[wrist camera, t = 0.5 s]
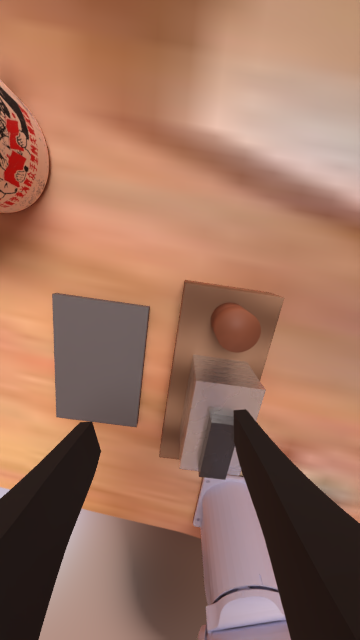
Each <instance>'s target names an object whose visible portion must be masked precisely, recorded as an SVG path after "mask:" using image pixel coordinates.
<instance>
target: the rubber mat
mask: <svg viewBox="0 0 360 640" xmlns="http://www.w3.org/2000/svg"><path fill="white" fill-rule="evenodd" d="M52 298H53V328H54V358H55V387H56V417H59V418H67V419H75V420H83V421H91V422H99V423H107V424H115V425H123V426H131V427H137V423H138V414H139V404H140V395H141V385H142V376H143V366H144V357H145V347H146V338H147V328H148V319H149V309H150V306H143V305H136V304H129V303H122V302H115V301H108V300H101V299H94V298H87V297H80V296H73V295H66V294H59V293H55V294H52Z"/></svg>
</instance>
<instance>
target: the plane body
mask: <svg viewBox="0 0 360 640" xmlns="http://www.w3.org/2000/svg"><path fill="white" fill-rule="evenodd" d="M283 301H284V297H281V296H278V295H275V294H272V293H269V292H262V291H256V290H249V289H242V288H236V287H229V286H222V285H215V284H209V283H202V282H195V281H188V280H185V283H184V290H183V296H182V303H181V310H180V316H179V323H178V330H177V336H176V343H175V350H174V357H173V363H172V370H171V377H170V383H169V390H168V397H167V403H166V410H165V417H164V423H163V430H162V438H161V446H160V454H159V457H163V458H171V459H180V425H181V420H182V414H183V409H184V403H185V397H186V392H187V386H188V381H189V375H190V370H191V364H192V358H193V355H200V356H207V357H215V358H222V359H229V360H236V361H244V362H247V363H248V364H249V366H250V367H251V369H252V370H253V372H254V373H255V375H256V376H257V378H258V379H259V381H260V379H261V376H262V372H263V369H264V365H265V362H266V359H267V355H268V352H269V348H270V345H271V342H272V338H273V335H274V331H275V328H276V325H277V321H278V318H279V314H280V311H281V308H282V304H283Z"/></svg>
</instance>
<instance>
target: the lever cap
mask: <svg viewBox="0 0 360 640" xmlns="http://www.w3.org/2000/svg"><path fill="white" fill-rule="evenodd" d="M264 394H265V388H264V387H263V385H262V384H261V382H260V381H259V379H258V378H257V376H256V375H255V373H254V372H253V370H252V369H251V367H250V366H249V364H248V363H247V362H244V361H236V360H229V359H222V358H215V357H207V356H200V355H193V358H192V364H191V370H190V375H189V381H188V386H187V392H186V397H185V403H184V409H183V414H182V420H181V425H180V469H186V470H194V471H199V477H205V478H214V479H222V480H225V479H226V476H227V475H236V476H239V475H240V472H241V467H240V464H239V460H238V456H237V452H236V448H235V444H234V410H243V409H246V410H247V411H248V412H249V413H250V414H251V416H252V417H253V418H254V420H255V421H256V420H257V417H258V413H259V410H260V407H261V403H262V400H263V397H264Z"/></svg>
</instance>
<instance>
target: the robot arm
mask: <svg viewBox="0 0 360 640" xmlns="http://www.w3.org/2000/svg"><path fill="white" fill-rule="evenodd" d="M234 444H235V448H236V452H237V456H238V460H239V464H240V467H241V470H242V473H243V476H244V477H239V476H231V475H227V476H226V479H225V480H222V479H214V478H205V477H204V478H203V482H202V486H201V490H200V494H199V498H198V502H197V507H196V511H195V515H194V519H193V525H194V526H195V527H200V528H201V541H202V542H201V543H202V557H203V571H204V586H205V594H206V599H207V603H208V606H206V619H207V624H204V625H202V626H201V628H200V630H199V635H198V638H197V640H360V523H358V522H357V521H356V520H355V519H354V518H352V517H351V516H350V515H349V514H347V513H346V512H345V511H344V510H343V509H342V508H340V507H339V506H338V505H337V504H336V503H335V502H334V501H332V500H331V499H330V498H329V497H328V496H327V495H326V494H325V493H323V492H322V491H321V490H320V489H319V488H318V487H317V486H316V485H315V484H314V483H313V482H312V481H311V480H310V479H308V478H307V477H306V476H305V475H304V474H303V473H302V472H301V471H300V470H299V469H298V468H297V467H296V466H295V465H294V464H293V463H292V462H291V461H290V460H289V458H288V457H287V456H286V455H285V454H284V453H283V452H282V451H281V450H280V449H279V448H278V447H277V445H276V444H275V443H274V442H273V441H272V440H271V439H270V438H269V436H268V435H267V434H266V433H265V432H264V431H263V429H262V428H261V427H260V426H259V425H258V423H257V422H256V421H255V420H254V418H253V417H252V416H251V414H250V413H249V412H248V411H247V410H246V409H243V410H234ZM100 453H101V450H100V446H99V443H98V440H97V436H96V433H95V430H94V426H93V423H92V422H80V423H79V424H78V425H77V426H76V427H75V428H74V429H73V430H72V431H71V432H70V433H69V434H68V435H67V436H66V437H65V438H64V439H63V440H62V441H61V442H60V443H59V444H58V445H57V446H56V447H55V448H54V449H53V450H52V451H51V452H50V453H49V454H48V455H47V456H46V457H45V458H44V459H43V460H42V461H41V462H40V463H39V464H38V465H37V466H36V467H35V468H34V469H32V470H31V471H30V472H29V473H28V474H27V475H26V476H25V477H24V478H23V479H22V480H21V481H20V482H18V483H17V484H16V485H15V486H14V487H13V488H12V489H11V490H10V491H9V492H8V493H6V494H5V495H4V496H3V497H2V498H1V499H0V640H38V639H39V636H40V632H41V628H42V625H43V621H44V618H45V615H46V611H47V608H48V605H49V601H50V598H51V595H52V591H53V588H54V585H55V581H56V578H57V575H58V572H59V569H60V566H61V562H62V559H63V556H64V553H65V550H66V547H67V544H68V542H69V539H70V536H71V534H72V531H73V528H74V526H75V523H76V521H77V518H78V516H79V513H80V511H81V508H82V506H83V503H84V501H85V498H86V496H87V493H88V490H89V488H90V485H91V483H92V480H93V477H94V475H95V471H96V468H97V464H98V460H99V457H100Z"/></svg>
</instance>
